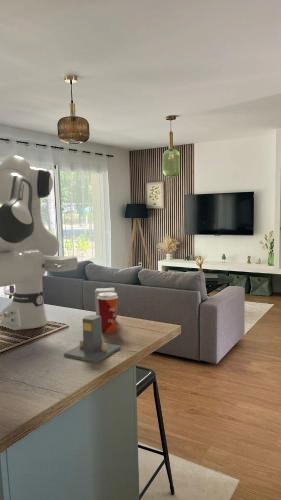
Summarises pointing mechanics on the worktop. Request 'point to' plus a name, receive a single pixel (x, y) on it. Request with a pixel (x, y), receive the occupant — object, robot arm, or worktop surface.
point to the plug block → (92, 333)
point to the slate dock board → (89, 356)
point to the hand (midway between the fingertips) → (62, 259)
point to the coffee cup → (108, 311)
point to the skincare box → (97, 292)
